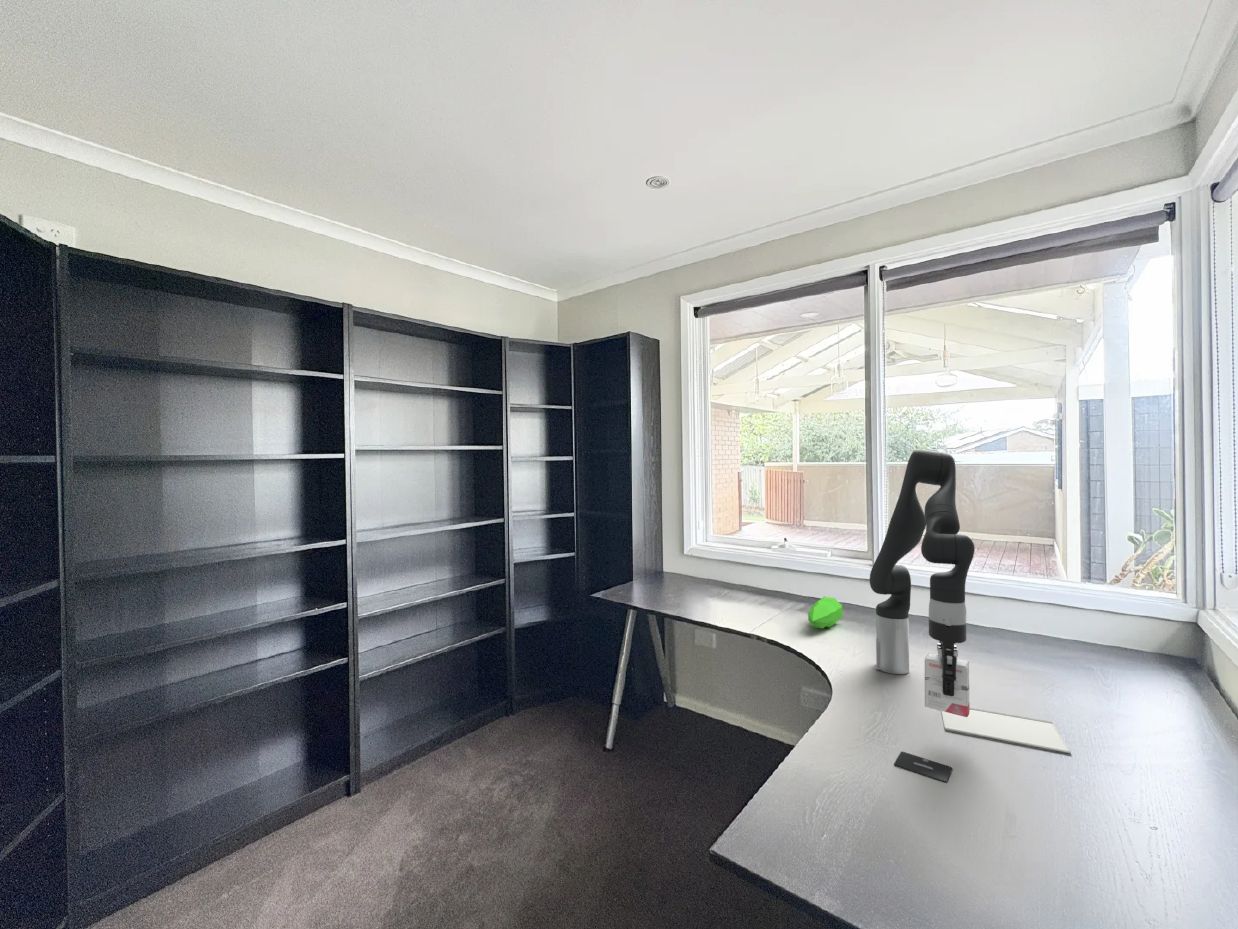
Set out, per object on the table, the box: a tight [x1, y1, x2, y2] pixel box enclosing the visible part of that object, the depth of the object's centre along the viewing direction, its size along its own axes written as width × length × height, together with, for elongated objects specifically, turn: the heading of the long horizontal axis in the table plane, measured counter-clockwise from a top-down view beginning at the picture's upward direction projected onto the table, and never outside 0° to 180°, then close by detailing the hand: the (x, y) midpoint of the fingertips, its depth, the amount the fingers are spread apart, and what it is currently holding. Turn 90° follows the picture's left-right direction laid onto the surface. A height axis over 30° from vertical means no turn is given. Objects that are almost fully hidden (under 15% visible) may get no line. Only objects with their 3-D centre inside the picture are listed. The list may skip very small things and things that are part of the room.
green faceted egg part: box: [807, 596, 844, 629], centre depth 211 cm, size 11×12×30 cm
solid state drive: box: [893, 751, 953, 784], centre depth 113 cm, size 7×10×1 cm
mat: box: [940, 707, 1072, 756], centre depth 130 cm, size 24×16×1 cm, turn 62°
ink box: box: [924, 652, 971, 717], centre depth 123 cm, size 9×5×12 cm, turn 50°
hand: (947, 689), depth 123 cm, fingers closed on ink box, 5 cm apart
